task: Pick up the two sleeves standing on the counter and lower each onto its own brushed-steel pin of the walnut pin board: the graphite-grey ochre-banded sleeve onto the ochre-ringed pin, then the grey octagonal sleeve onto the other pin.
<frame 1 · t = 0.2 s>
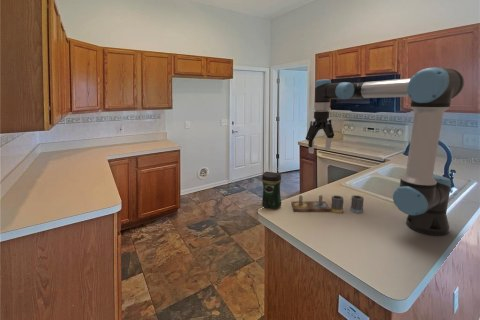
hand: (319, 151, 142), 27 cm above the counter, fingers open, 13 cm apart
sleeve ochre: (336, 210, 134), on the counter
coffee jar: (271, 206, 141), on the counter
pin board: (310, 207, 138), on the counter
grey octagonal sleeve: (356, 210, 133), on the counter
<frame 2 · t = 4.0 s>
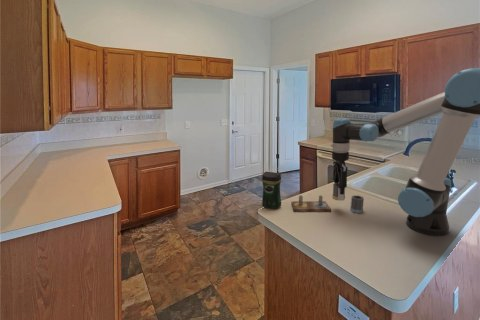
hand: (338, 197, 132), 7 cm above the counter, fingers closed on sleeve ochre, 6 cm apart
sleeve ochre: (338, 198, 132), point 7 cm above the counter, touching gripper
everything else where it was.
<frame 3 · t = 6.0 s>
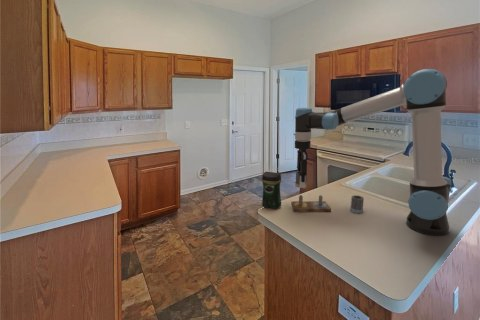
hand: (301, 185, 135), 12 cm above the counter, fingers closed on sleeve ochre, 6 cm apart
sleeve ochre: (300, 185, 135), point 12 cm above the counter, touching gripper
everything else where it was.
when the fingers open (2 cm above the counter, at t = 8.4 s): sleeve ochre stays where it is, resting on pin board.
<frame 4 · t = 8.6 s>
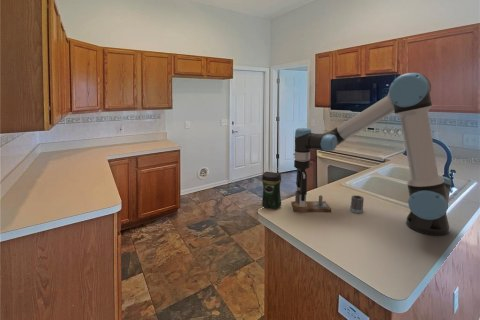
hand: (300, 202, 137), 3 cm above the counter, fingers open, 8 cm apart
sleeve ochre: (300, 204, 138), point 2 cm above the counter, touching pin board
everything else where it was.
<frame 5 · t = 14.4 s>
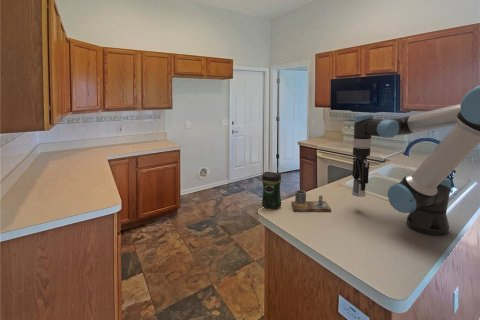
hand: (358, 194, 131), 9 cm above the counter, fingers closed on grey octagonal sleeve, 6 cm apart
grey octagonal sleeve: (358, 194, 131), point 9 cm above the counter, touching gripper
everything else where it was.
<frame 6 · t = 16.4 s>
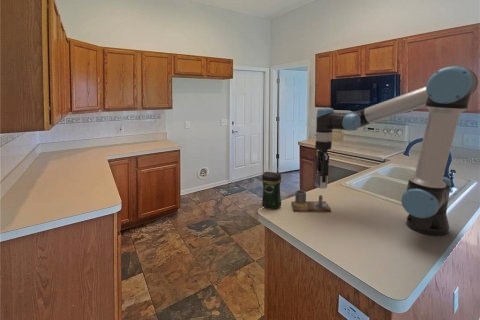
hand: (321, 185, 135), 12 cm above the counter, fingers closed on grey octagonal sleeve, 6 cm apart
grey octagonal sleeve: (321, 186, 135), point 12 cm above the counter, touching gripper
everything else where it was.
when the fingers open (2 cm above the counter, at t = 18.7 s): grey octagonal sleeve stays where it is, resting on pin board.
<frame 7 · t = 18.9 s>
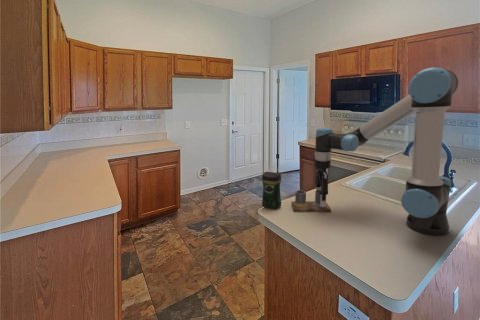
hand: (320, 202, 137), 3 cm above the counter, fingers open, 8 cm apart
grey octagonal sleeve: (320, 204, 137), point 2 cm above the counter, touching pin board
everything else where it was.
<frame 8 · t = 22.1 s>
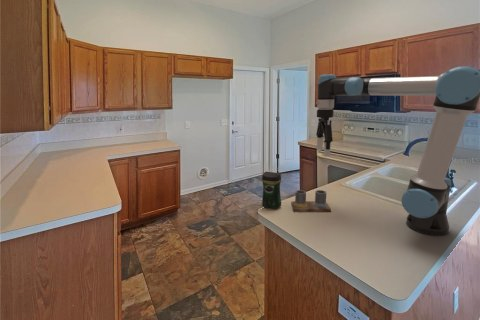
hand: (323, 153, 131), 29 cm above the counter, fingers open, 13 cm apart
nothing on the counter moved.
at the end: sleeve ochre 0.1 cm from the target spot, point 1.6 cm above the counter; grey octagonal sleeve 0.1 cm from the target spot, point 1.6 cm above the counter; the gripper is holding nothing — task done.
